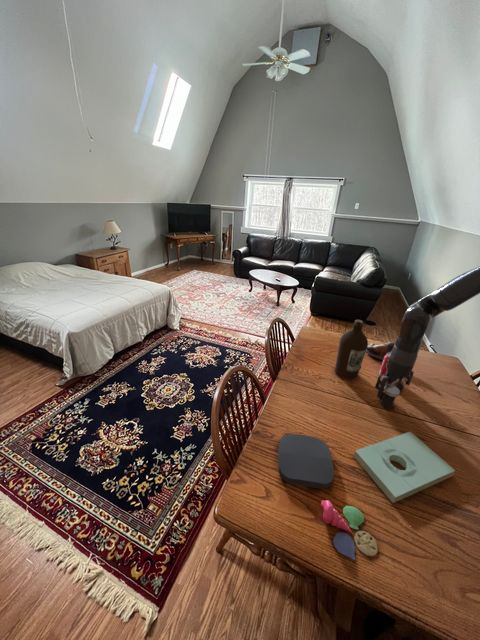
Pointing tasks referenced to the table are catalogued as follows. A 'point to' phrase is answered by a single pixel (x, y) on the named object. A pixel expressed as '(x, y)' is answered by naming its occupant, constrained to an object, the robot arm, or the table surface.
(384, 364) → the soda can
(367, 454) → the plate
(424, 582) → the table surface
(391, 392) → the stopper
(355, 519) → the toy pieces
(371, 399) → the table surface
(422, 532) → the table surface
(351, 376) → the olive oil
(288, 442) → the media streaming box
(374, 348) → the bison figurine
